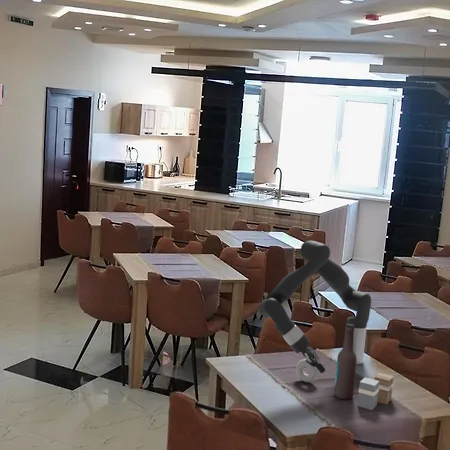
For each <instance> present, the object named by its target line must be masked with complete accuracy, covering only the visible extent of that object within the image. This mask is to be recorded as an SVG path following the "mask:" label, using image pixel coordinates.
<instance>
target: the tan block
mask: <svg viewBox="0 0 450 450" xmlns="http://www.w3.org/2000/svg"><path fill="white" fill-rule="evenodd" d="M394 376H395V375H390V374H386V373H382V372H378V373H377V374H376V375H375V376H374V379H373V380H377V381H380V383H379V392H378V400H377V403H379V404H384V405H388V404H389V403H390V402H391V401H392V396H393V387H394V378H395V377H394Z"/></svg>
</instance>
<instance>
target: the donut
mask: <svg viewBox="0 0 450 450" xmlns="http://www.w3.org/2000/svg"><path fill="white" fill-rule="evenodd" d="M304 368H308V370H309V374H308V373H306V372H305V370H304ZM295 373H296V376H297V378H298V379H299V380H300V381H302V382H304V383H313V382H314V381H316V379H317V377H318V375H319V370H318V369H317V368H316V367H313V366H311V365H310V364H308V363H307V362H306V359H305V358H303V359H301V360H298V362H297V364H296V366H295Z"/></svg>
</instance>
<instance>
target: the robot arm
mask: <svg viewBox="0 0 450 450" xmlns="http://www.w3.org/2000/svg"><path fill="white" fill-rule="evenodd" d="M300 256H301V258H302V260H303V261H305V262H306V263H305V264H304V265H302V266H301V267H299V268H298V269H296V270H293V271H292V272H290V273H288V274H287V275H285V276H284V277H283V278H282V279H281V280H280V282H279V283H278V284H277V285H276V286H275V288H274V289H273V290H272V291H271V292H270V293H269V294H268V295H267V296H266V297H264V299H263V300H262V301H261V302H260V303H259V307H258V310H259V314H260V315H262V316H263V317H266V318H270V319H271V320H272V321H273V323H274V328H275V329H276V330H277V331H278V332H279V334H280V335H281V336H282V337H283V339H284V341H285V343H287V344H288V345H289V346H290V347H291V350H293V351H294V353H295V354H299V353H301V354H302V357H303V359H306V362H307V363H308V364H310V365H311V366H313V367H316V368H317V369H318V372H319V373H320V374H323V373H324V372H326V367H324V365H323V364H322V363H321V360H320V357H319V356H318V354H317V352H316V351H315V349H314V348H313V347H310V343H311V340H310V339H309V338H308V337H307V335H306V334H305V333H304V332H303V331H302V329H300V328H299V326H297V325H296V323H294V321H293V320H292V319H291V318H290V316H289V314H288V313H287V311H286V309H285V308H284V306H283V303H285V302H286V301H288V300H289V299H290V298H291V296H293V294H294V293H295V292H296V291H297V289H298V288H299V287H301V285H302V284H303V283H304V282H305V281H307V280H308V279H309V278H310V277H311V276H312V275H313V274H315V273H316V272H317V274H318V275H319V276H321V278H322V279H323V281H325V282H326V284H327V285H328V286H329V287H330V288H331V289H332V290H333V291H334V292H335V293H336V294H337V295H338V296H339V298H340V299H341V301H342V302H343V304H344V306H345V307H346V308H347V309H349V310H352V311H354V312H356V313H355V316H349V317H347V319H346V324H353V325H354V340H353V351H354V353H355V354H356V357H357V360H356V365H361V364H363V362H364V352H365V344H366V343H365V342H366V337H367V336H366V334H367V327H368V326H367V325H368V322H369V319H370V312H371V307H372V297H371V295H370V294H369V293H367V292H363V291H361V290H356V289H354V288H353V287H352V286H351V285H350V277H349V275H348V273H347V272H346V271H345V270H344V269H343V268H342V267H341V266H340V265H339V264H338V263H336V262H335V261H333V260H332V259H330V256H331V249H330V247H329V246H328V245H327V244H324V243H322V242H318V241H315V240H306V241H304V242H303V243H302V244H301V246H300ZM346 324H345V325H346Z"/></svg>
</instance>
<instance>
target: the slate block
mask: <svg viewBox="0 0 450 450" xmlns="http://www.w3.org/2000/svg"><path fill="white" fill-rule="evenodd" d="M379 383H380V381H377V380H374V379H373V378H369V377H364V378H362V380H359V386H358V395H357V396H358V397H357V405H356V406H357V407H360V408H363V409H367V410H369V411H373V410H374V409H375V408H376V407H377V405H378V402H377V400H378V392H379Z"/></svg>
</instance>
